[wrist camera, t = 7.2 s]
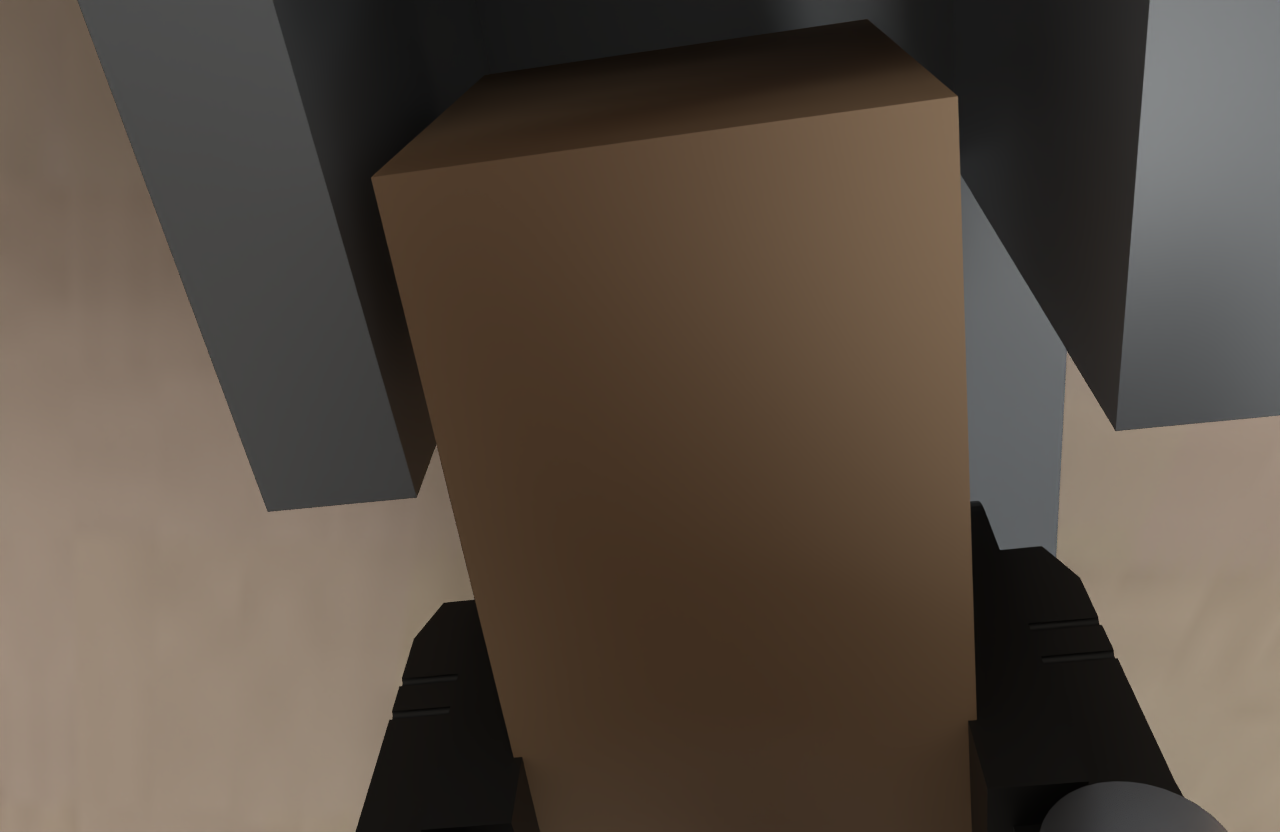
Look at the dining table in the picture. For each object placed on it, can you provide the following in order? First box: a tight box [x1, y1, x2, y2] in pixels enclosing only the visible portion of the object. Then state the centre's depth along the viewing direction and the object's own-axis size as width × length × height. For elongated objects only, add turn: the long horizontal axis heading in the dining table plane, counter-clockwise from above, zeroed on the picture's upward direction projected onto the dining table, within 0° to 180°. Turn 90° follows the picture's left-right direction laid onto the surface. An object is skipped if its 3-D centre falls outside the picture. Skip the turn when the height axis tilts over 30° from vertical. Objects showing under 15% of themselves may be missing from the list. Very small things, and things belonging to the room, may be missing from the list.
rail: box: [78, 0, 1280, 557], centre depth 14 cm, size 8×21×7 cm, turn 8°
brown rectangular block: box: [371, 19, 977, 832], centre depth 11 cm, size 4×11×4 cm, turn 9°
